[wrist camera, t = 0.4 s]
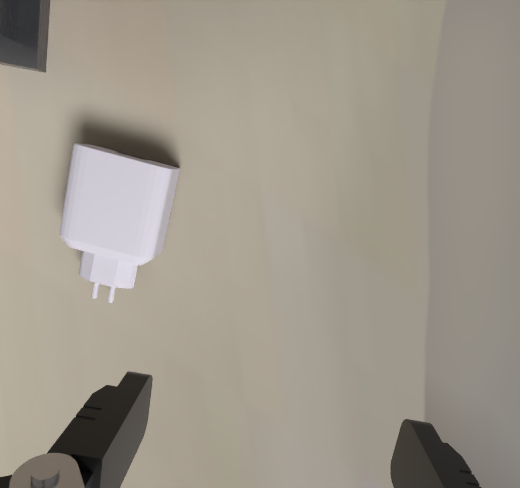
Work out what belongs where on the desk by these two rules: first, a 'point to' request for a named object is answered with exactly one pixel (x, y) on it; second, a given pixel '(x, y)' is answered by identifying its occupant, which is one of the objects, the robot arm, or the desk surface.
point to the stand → (24, 33)
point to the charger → (116, 213)
